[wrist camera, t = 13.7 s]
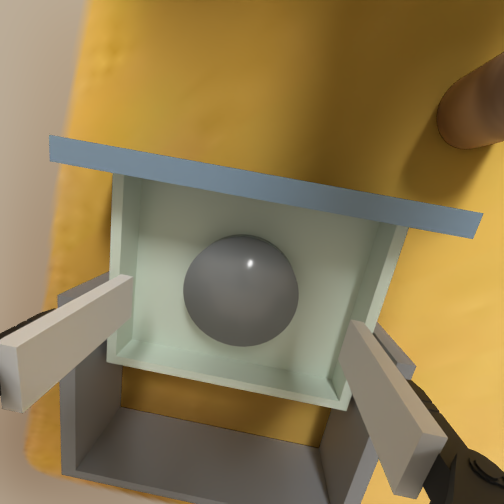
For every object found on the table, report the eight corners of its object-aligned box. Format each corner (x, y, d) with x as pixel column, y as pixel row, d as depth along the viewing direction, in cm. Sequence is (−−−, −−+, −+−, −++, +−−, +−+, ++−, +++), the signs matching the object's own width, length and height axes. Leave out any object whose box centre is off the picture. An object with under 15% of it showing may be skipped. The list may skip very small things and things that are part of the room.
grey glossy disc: (197, 225, 19) (189, 228, 17) (306, 245, 19) (310, 250, 17) (186, 322, 21) (177, 335, 19) (283, 341, 21) (285, 355, 19)
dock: (115, 268, 21) (57, 295, 15) (374, 318, 21) (416, 366, 15) (109, 410, 25) (61, 474, 19) (328, 456, 25) (347, 536, 19)
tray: (117, 154, 19) (49, 134, 13) (414, 208, 18) (483, 213, 12) (110, 337, 23) (55, 385, 17) (353, 386, 22) (384, 454, 16)
